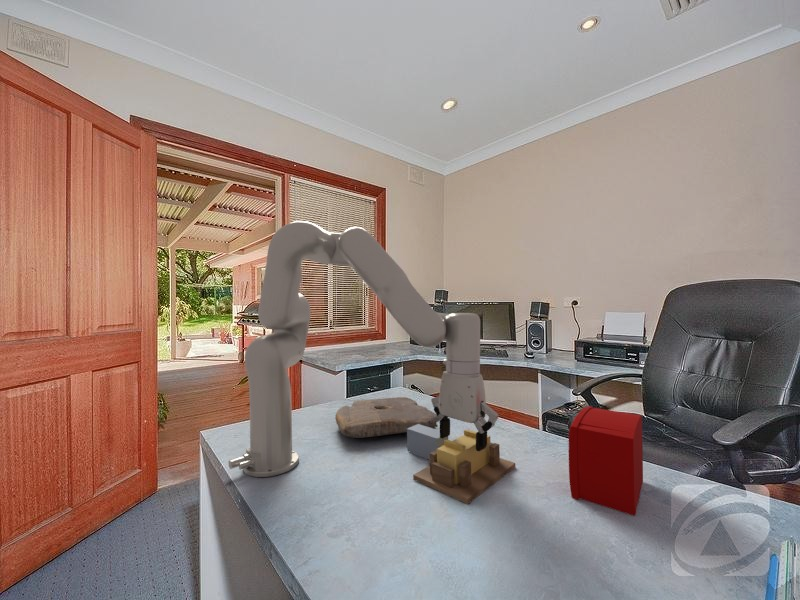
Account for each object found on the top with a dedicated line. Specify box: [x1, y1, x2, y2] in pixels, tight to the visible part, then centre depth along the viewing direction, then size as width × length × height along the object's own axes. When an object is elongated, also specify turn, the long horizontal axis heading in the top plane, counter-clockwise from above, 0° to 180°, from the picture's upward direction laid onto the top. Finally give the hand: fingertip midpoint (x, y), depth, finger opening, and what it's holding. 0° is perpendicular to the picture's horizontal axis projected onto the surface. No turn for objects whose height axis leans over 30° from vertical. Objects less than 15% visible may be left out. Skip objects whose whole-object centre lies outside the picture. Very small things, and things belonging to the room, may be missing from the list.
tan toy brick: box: [437, 429, 491, 485], centre depth 79 cm, size 14×5×7 cm, turn 136°
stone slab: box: [335, 396, 440, 439], centre depth 111 cm, size 31×29×6 cm
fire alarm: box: [568, 405, 644, 517], centre depth 71 cm, size 16×11×15 cm
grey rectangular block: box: [406, 424, 449, 461], centre depth 89 cm, size 4×10×6 cm, turn 46°
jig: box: [412, 442, 516, 505], centre depth 78 cm, size 20×14×6 cm
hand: (462, 442), depth 79 cm, fingers open, 9 cm apart
